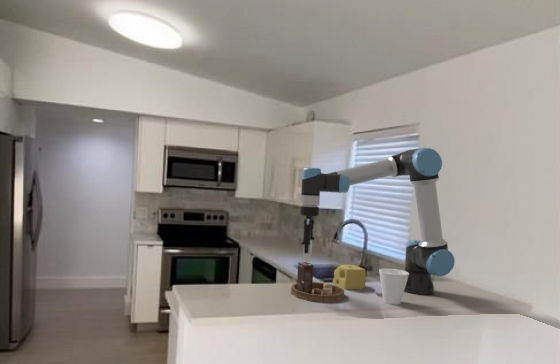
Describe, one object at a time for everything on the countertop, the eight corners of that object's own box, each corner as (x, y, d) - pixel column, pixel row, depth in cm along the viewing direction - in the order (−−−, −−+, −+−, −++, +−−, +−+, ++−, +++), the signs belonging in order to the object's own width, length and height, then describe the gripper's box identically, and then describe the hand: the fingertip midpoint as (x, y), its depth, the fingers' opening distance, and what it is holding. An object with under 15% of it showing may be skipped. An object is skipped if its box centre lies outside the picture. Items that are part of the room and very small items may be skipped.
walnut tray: (343, 293, 182) (343, 285, 182) (343, 307, 161) (344, 298, 161) (294, 288, 185) (294, 280, 185) (288, 301, 164) (289, 292, 164)
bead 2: (331, 297, 170) (332, 288, 170) (331, 299, 166) (332, 290, 166) (322, 296, 170) (323, 287, 170) (322, 298, 167) (322, 289, 167)
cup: (388, 307, 166) (390, 275, 166) (371, 298, 177) (373, 268, 177) (413, 305, 170) (415, 274, 170) (394, 297, 181) (396, 268, 181)
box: (295, 291, 175) (297, 262, 175) (305, 290, 177) (307, 261, 177) (302, 295, 170) (304, 265, 170) (312, 294, 172) (314, 264, 172)
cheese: (332, 286, 193) (333, 264, 193) (352, 285, 198) (353, 264, 198) (345, 292, 184) (346, 269, 184) (365, 291, 188) (367, 268, 188)
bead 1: (331, 292, 178) (332, 283, 178) (331, 294, 174) (332, 285, 174) (323, 291, 178) (323, 283, 178) (322, 293, 175) (323, 285, 175)
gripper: (303, 203, 186) (300, 252, 186) (297, 207, 162) (294, 263, 162) (320, 204, 185) (318, 253, 185) (317, 208, 161) (314, 264, 161)
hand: (307, 258), depth 174 cm, fingers open, 13 cm apart
